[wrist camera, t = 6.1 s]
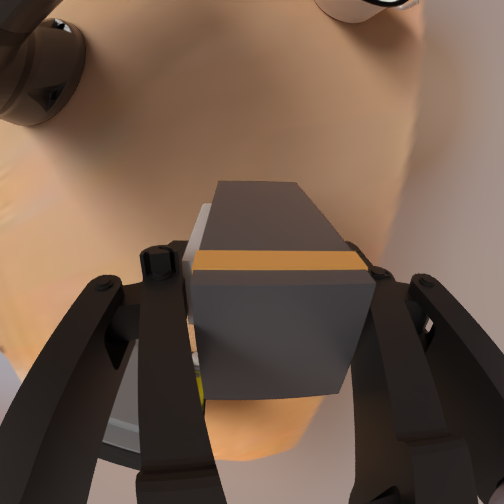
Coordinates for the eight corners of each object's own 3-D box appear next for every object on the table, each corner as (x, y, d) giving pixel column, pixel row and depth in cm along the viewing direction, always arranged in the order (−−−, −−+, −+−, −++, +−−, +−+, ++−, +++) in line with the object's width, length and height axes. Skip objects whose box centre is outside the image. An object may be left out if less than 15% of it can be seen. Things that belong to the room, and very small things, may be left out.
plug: (217, 180, 16) (187, 283, 6) (296, 181, 17) (378, 281, 7) (218, 251, 18) (202, 400, 8) (290, 252, 19) (339, 393, 9)
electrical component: (212, 349, 44) (204, 462, 26) (199, 385, 48) (191, 482, 30) (108, 319, 41) (61, 421, 23) (108, 359, 45) (74, 450, 27)
